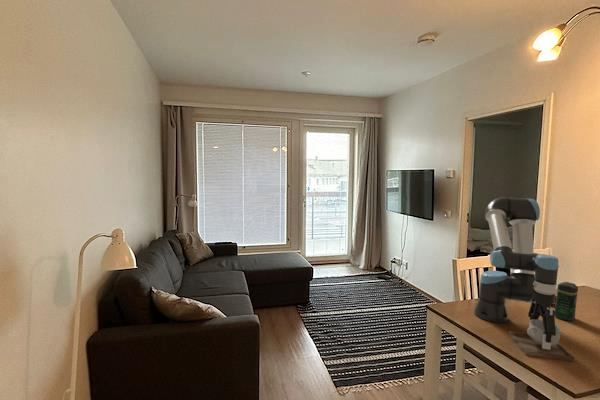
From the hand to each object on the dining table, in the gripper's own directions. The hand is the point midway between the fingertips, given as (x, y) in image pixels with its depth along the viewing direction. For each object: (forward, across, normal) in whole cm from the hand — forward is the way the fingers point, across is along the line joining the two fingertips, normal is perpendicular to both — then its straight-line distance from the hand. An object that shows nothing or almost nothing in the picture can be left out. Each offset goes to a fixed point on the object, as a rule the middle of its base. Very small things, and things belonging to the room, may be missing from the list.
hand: (539, 341), depth 136 cm
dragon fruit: (+3, -58, +29) cm, 65 cm away
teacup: (0, 0, 0) cm, 1 cm away
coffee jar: (+3, -38, +28) cm, 47 cm away
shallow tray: (+2, 0, 0) cm, 2 cm away
